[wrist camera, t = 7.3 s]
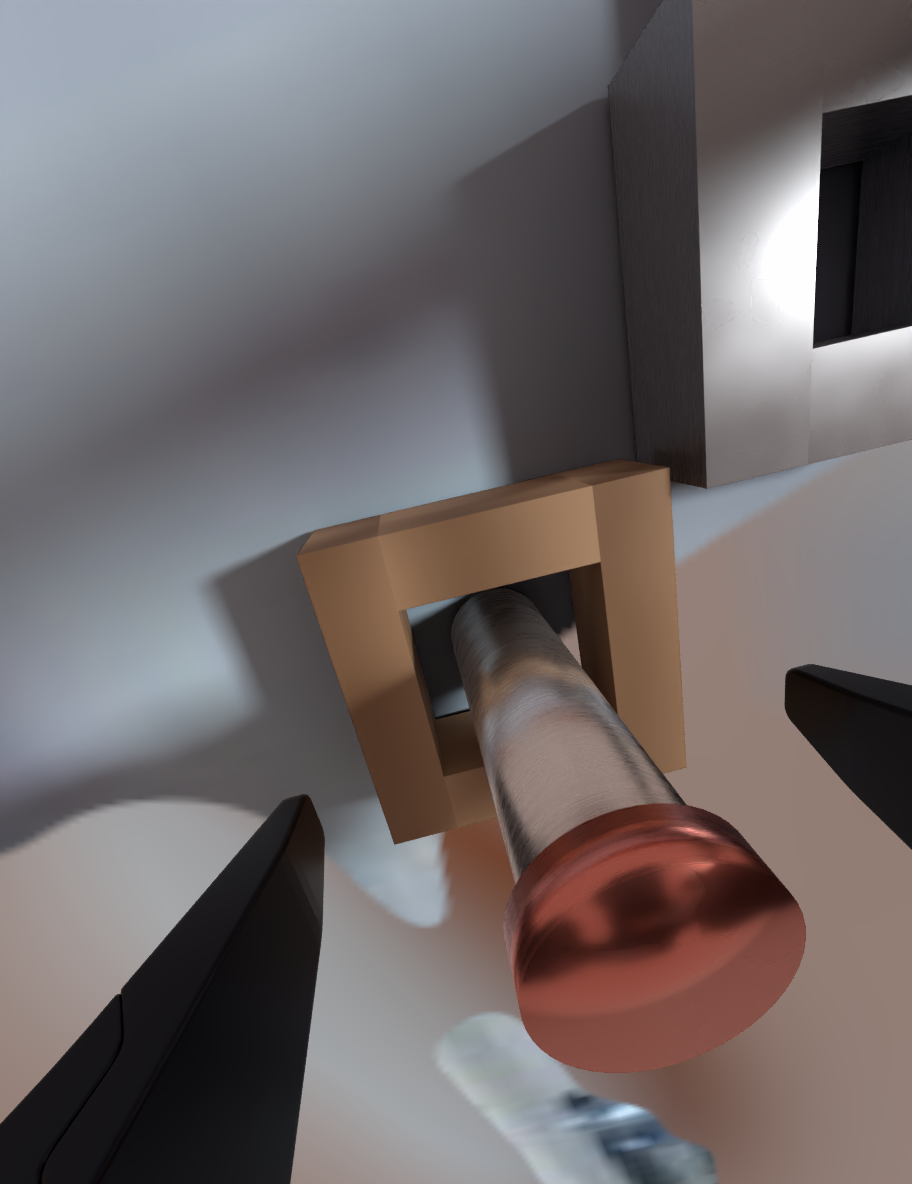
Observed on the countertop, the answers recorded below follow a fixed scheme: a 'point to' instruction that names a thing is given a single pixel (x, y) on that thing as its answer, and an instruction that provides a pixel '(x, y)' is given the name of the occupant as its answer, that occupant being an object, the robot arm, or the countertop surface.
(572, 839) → the hitch pin
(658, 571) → the frame
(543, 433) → the countertop surface
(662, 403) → the block
